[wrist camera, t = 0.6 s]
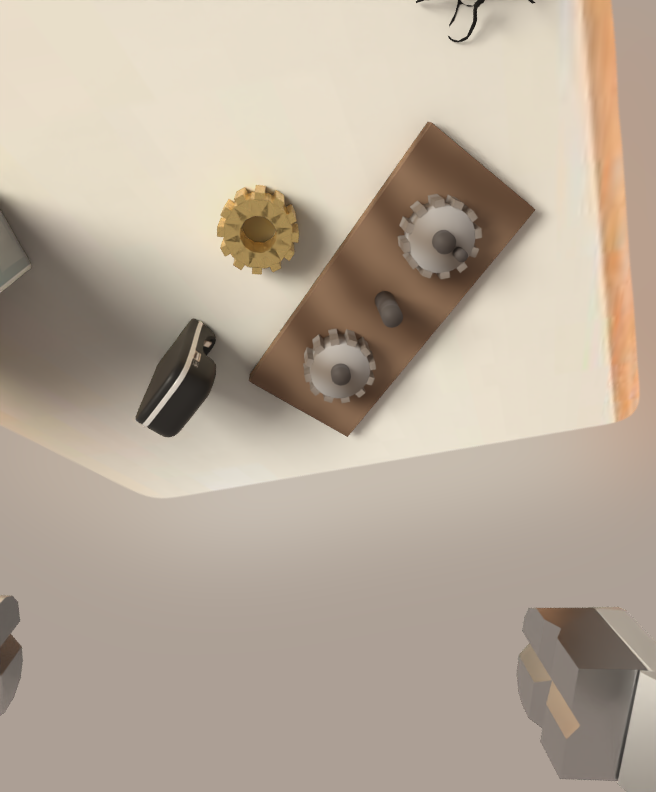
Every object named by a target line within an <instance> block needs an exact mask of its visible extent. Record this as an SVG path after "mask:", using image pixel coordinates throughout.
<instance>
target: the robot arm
mask: <svg viewBox="0 0 656 792" xmlns="http://www.w3.org/2000/svg"><path fill="white" fill-rule="evenodd" d="M19 622H20V617H19V607H18V601H17V600H16V599H15V598H14V597H13V596H10V595H0V715H2V714H4V713H5V711H6V709H7V708H8V706H9V705H10V703H11V701H12V700H13V698H14V695H15V693H16V690H17V687H18V684H19V681H20V678H21V671H22V662H23V659H22V647H21V645H20V644H19V643H18V642H17V640H16V639H15V638H14V637H13V636H12V635H11V632H12V631H13V630H14V628H15V627H16V626H17V625H18V623H19ZM522 631H523V633H524V634H525V636H526V638H527V639H528V641H529V644H528V645H527V647H526V648H525V649H524V650H523V651H522V652H521V653H520V654H519V657H518V666H517V681H518V692H519V695H520V699H521V702H522V705H523V707H524V709H525V712H526V714H527V715H528V718H529V719H530V720H532V721H533V722H534V723H536V724H537V725H539V726H540V727H541V728H542V735H541V743H542V745H543V747H544V749H545V751H546V753H547V755H548V757H549V759H550V761H551V763H552V765H553V767H554V769H555V770H556V772H557V774H558V776H559V778H560V779H578V780H608V781H618V783H617V784H618V785H619V786H621V787H622V788H623V789H624V790H625V791H627V792H656V641H655V640H654V639H653V638H652V637H651V636H650V635H649V634H648V633H647V632H646V631H645V630H644V629H643V628H642V627H641V626H640V624H639V623H637V621H636V620H635V619H634V618H633V617H632V616H631V615H630V614H629V613H628V612H627V611H626V610H624V609H622V608H619V607H589V608H528V611H527V613H526V615H525V617H524V624H523V630H522Z"/></svg>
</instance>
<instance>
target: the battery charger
mask: <svg viewBox="0 0 656 792" xmlns="http://www.w3.org/2000/svg"><path fill="white" fill-rule="evenodd" d="M215 341H216V339H215V335H214V333H213V332H212V331H211V330H210V329H209V328H208V327H207V326H205V325H204V324H203V323H202V322H201V321H198V320H196V319H192V320H191V321H190V322H189V323H188V324H187V326H186V327H185V328H184V330H183V331H182V332H181V334H180V335H179V337H178V338H177V339H176V341H175V342H174V343H173V345H172V346H171V347H170V349H169V350H168V351H167V353H166V354H165V355H164V357H163V358H162V360H161V361H160V362H159V364H158V365H157V367H156V370H155V372H154V375H153V377H152V379H151V382H150V384H149V386H148V388H147V391H146V393H145V395H144V398H143V400H142V402H141V405H140V407H139V410H138V412H137V415H136V420H137V421H138V422H139V423H141V425H142V426H144V427H148V428H149V429H151V430H153V431H155V432H156V433H158V434H160V435H162V436H164V437H172V436H175V435H176V434H178V433H179V432H180V430H181V429H182V428H183V427H184V426H185V424H186V423H187V422H188V421H189V419H190V418H191V417H192V416H193V414H194V413H195V412H196V411H197V409H198V408H199V407H200V406H201V404H202V403H203V402H204V400H205V399H206V398H207V396H208V395H209V393H210V391H211V389H212V386H213V383H214V379H215V375H216V364H215V363H214V361H213V360H212V359H210V358H209V357H208V356H206V355H207V354H208V353H209V352H210V350H211V349H212V348H213V346H214V344H215Z"/></svg>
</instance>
